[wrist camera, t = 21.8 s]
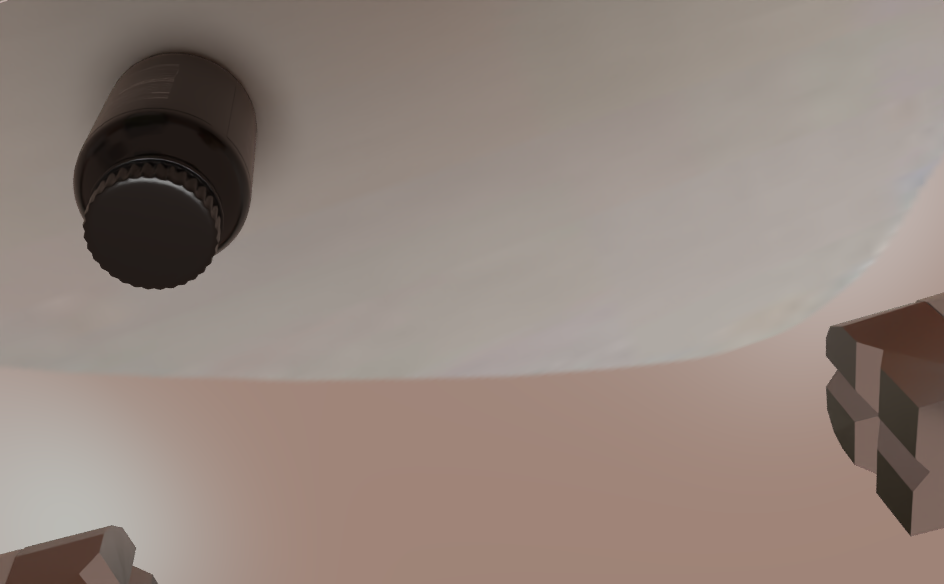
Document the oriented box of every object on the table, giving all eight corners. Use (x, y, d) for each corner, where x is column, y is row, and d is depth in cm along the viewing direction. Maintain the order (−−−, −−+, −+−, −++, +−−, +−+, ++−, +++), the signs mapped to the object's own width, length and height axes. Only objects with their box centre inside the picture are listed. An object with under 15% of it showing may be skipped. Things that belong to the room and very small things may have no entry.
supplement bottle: (103, 171, 44) (40, 297, 33) (117, 33, 40) (53, 126, 30) (247, 198, 45) (229, 326, 35) (271, 68, 42) (259, 167, 32)
